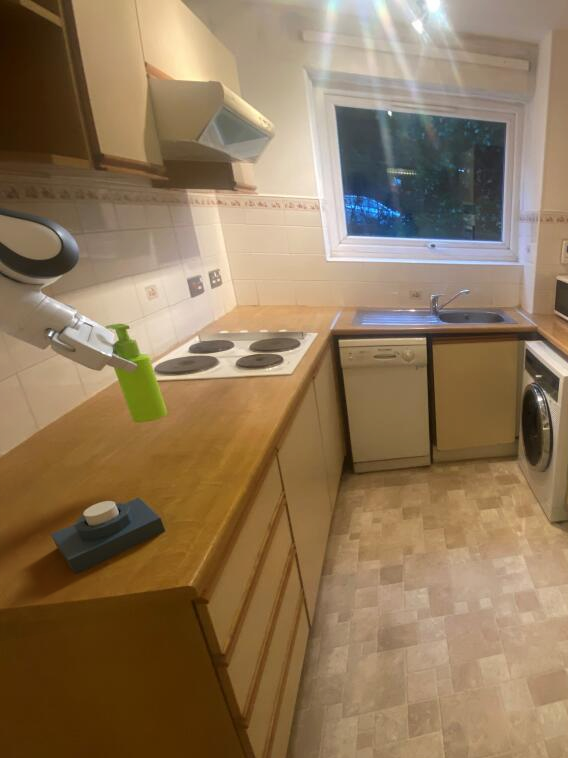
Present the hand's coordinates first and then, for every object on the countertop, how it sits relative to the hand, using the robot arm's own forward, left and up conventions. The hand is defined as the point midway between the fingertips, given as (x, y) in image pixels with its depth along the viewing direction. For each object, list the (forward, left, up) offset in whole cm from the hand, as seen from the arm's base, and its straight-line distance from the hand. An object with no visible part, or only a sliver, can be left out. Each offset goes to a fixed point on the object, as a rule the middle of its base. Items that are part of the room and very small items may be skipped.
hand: (135, 364), depth 89 cm
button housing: (-16, -21, -23) cm, 35 cm away
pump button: (-16, -21, -19) cm, 32 cm away
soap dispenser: (-1, 0, -12) cm, 12 cm away
